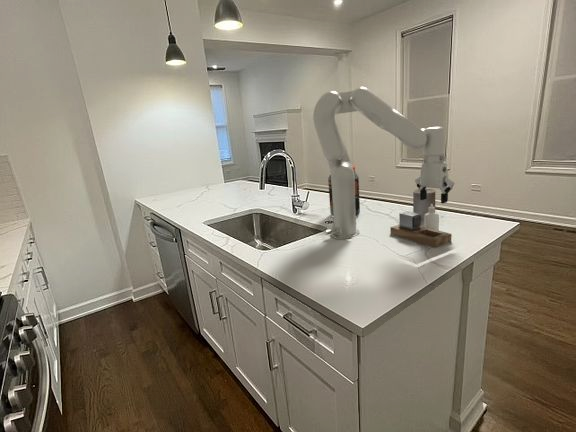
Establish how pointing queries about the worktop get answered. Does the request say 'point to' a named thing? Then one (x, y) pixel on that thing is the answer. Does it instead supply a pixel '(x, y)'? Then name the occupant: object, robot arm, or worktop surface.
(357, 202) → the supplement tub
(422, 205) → the pillar candle
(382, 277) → the worktop surface
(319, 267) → the worktop surface
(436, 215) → the eye dropper bottle
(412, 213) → the block
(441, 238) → the wooden tray
